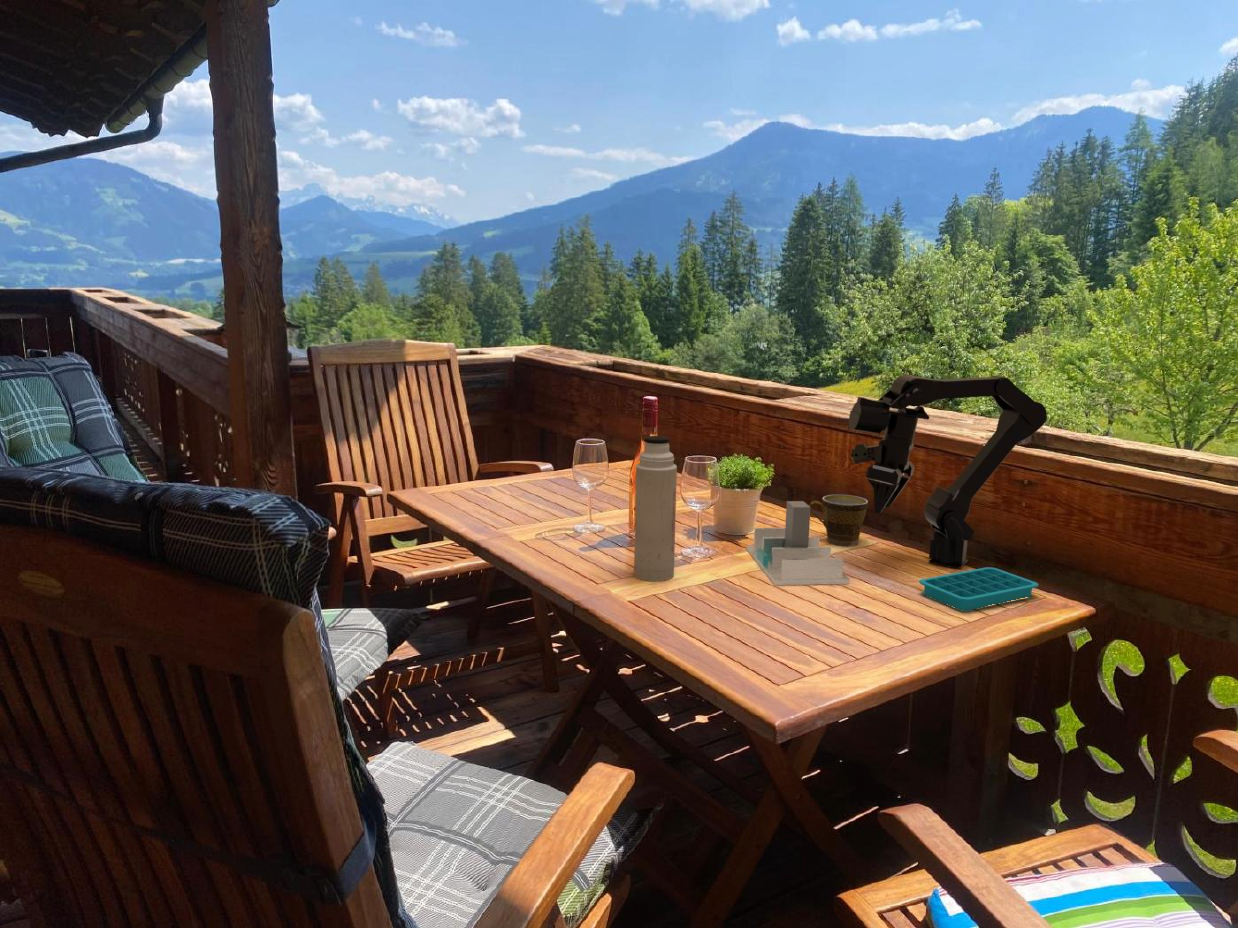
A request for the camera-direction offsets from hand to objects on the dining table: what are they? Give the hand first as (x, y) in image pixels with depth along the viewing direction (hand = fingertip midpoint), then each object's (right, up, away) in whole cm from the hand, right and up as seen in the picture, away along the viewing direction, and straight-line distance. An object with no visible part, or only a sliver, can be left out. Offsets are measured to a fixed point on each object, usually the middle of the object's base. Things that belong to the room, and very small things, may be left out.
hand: (881, 510), depth 178 cm
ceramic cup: (-5, -8, +18) cm, 20 cm away
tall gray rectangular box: (-18, -10, 0) cm, 21 cm away
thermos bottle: (-48, -13, -7) cm, 50 cm away
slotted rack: (-18, -12, 0) cm, 22 cm away
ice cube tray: (+13, -16, -16) cm, 26 cm away
